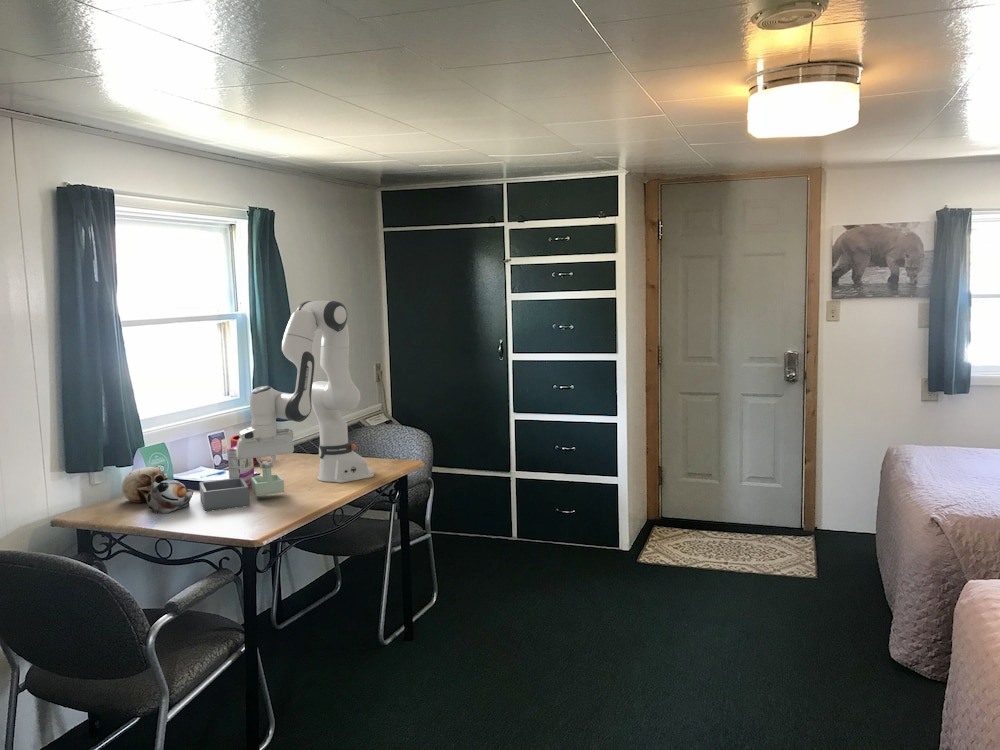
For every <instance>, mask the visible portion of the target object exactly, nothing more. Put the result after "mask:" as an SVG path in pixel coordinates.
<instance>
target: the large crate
mask: <svg viewBox="0 0 1000 750" xmlns="http://www.w3.org/2000/svg"><path fill="white" fill-rule="evenodd" d="M249 493H250V491H249V487H248V486H247V484H246V483H245V481H244V480H243V478H234V479H229V478H226V479H218V480H217V479H216V480H209V481H200V482H199V494H200V495H199V497H200V502H201V506H202V507H203V510H204V512H205V511H207V512H213V511H212V510H214V511H220V510H219V509H222V510H228V509H227V508H230V509H236V508H235V507H238V508H244V507H243V506H246V507H249V506H250V494H249Z"/></svg>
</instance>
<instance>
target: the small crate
mask: <svg viewBox="0 0 1000 750" xmlns="http://www.w3.org/2000/svg"><path fill="white" fill-rule="evenodd" d="M261 463H264V464H265V466H264V467H265V468H264V469H261V470H262V475H261V476H254V477H251V482H252V486H251V490H252V492H253V493H254V495H255V496H256V497H259V496H267V495H273V494H280V493H285V481H284V479H283V478H282V476H281V475H280V474H279V473H275V474H272V468H271V466H270V464H269V463H268V461H267V460H263V461H262V462H261Z"/></svg>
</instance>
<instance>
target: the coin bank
mask: <svg viewBox="0 0 1000 750" xmlns="http://www.w3.org/2000/svg"><path fill="white" fill-rule="evenodd" d="M164 473H165V472H164V471H162V470H161V469H159V468H158V467H156V466H145V467H139V468H137V469H134V470H132V471H130V472H128V473H127V474H126V475H125V477H124V479H123V480H122V485H121V489H122V490H121V491H122V494H123V496H124V497H125V499H127V500H128V501H130V502H132V503H135V504H137V503H138V504H139V503H140V504H141V503H147V505H148V502H147V498H148V494H149V493H150V492H151V491H152V489H151V488H152V484H153V483H154V482H157V483H160V482H162V481H166V480H169V479H168V477H167V476H166V475H165V474H164Z"/></svg>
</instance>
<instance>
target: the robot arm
mask: <svg viewBox="0 0 1000 750" xmlns="http://www.w3.org/2000/svg"><path fill="white" fill-rule="evenodd" d="M347 321H348V310H347V309H346V306H345V305H344V304H343V303H342V302H340V301H335V300H327V299H326V300H325V299H324V300H322V299H321V300H313V301H312V300H308V301H304V302H301V303H300V304H299V305H298V306H297V308H296V310H295V311H293V312H292V314H291V315H290V318H289V320H288V322H287V325H286V328H285V330H284V333H283V338H282V341H281V352H282V353H283V356H284V357H285V358H286V359H287V360H288V361H290V362H291V363H293V364H294V365H295V367H296V369H297V370H296V371H297V375H296V381H295V382H296V383H295V389H294V392H293V393H290V392H289V393H288V392H282V391H279V390H276V389H274V388H273V387H272V386H270V385H262V386H257V387H255V388H254V389H251V390H252V391H251V392H250V396H249V411H250V413H249V414H250V415H251V421H250V426H249V427H246V428H244V429H241V430H239V432H238V435H239V437H240V438H239V439H238V441H237V457H238V458H239V459H248V458H256V459H257V461H258V464H259V469H260V470H262V469H264V468H265V467H264V466H265V464H264V463H262V462H261V460H262V457H263V458H265V457H271V460H270V461H269V462H268V461H267V462H268V463H269V464H270V466H271V469H273V468H274V462H275V460H276V458H277V457H276V456H280V455H288V454H293V453H294V451H295V448H294V447H295V446H294V441H293V439H294V431H293V430H292V429H289V428H284V429H283V428H280V429H277V420H276V419H283V420H289V421H293V422H295V423H296V422H297V423H300V422H304V421H305V420H306V419H307V418H308V417H309V416H310V415H311V412H312V410H313V413H314V414H315V416H316V420H317V423H318V431H319V443H318V455H319V467H318V468H319V469H318V473H317V481H318V480H319V481H321V482H331V483H339V484H341V483H346V482H353V481H358V480H365V479H371V478H373V477H375V472H374V471H373V470H371V469H370V468H369V466H368V462H367V460H366V459H365V458H364V457H362V455H360V454H359V453H357V452H355V451H354V450H356V449H357V445H356V444H355V443H351V442H350V441H349V437H348V436H349V432H348V423H347V421H346V420H345V419H344V418H343V417H342V416H341V413H340V411H350V410H351V411H352V410H354V409H356V408H357V407H358V406H359V404H360V403H361V402H360V401H361V392H360V390H359V388H358V387H357V386H356V385H355V383H354V382H353V380H352V376H351V373H350V368H349V367H350V366H349V363H350V362H349V360H350V359H349V358H350V357H349V356H350V354H349V353H350V331H349V326H348V324H347ZM317 330H320V331H321V333H322V334H321V341H320V355H319V356H320V357H319V358H320V360H319V365H320V368H321V369H322V371H324V372H325V374H326V378H327V381H325V380H318V381H314V376H315V375H314V373H315V356H314V355H313V344H314V340H315V335H316V331H317Z"/></svg>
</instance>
